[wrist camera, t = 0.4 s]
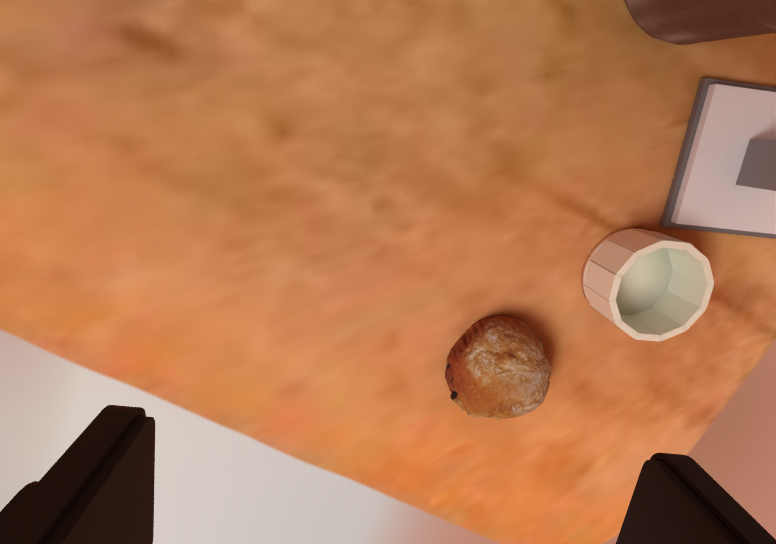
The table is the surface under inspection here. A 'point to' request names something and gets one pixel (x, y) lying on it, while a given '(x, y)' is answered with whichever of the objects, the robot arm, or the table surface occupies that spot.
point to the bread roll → (498, 369)
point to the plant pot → (703, 19)
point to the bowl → (647, 283)
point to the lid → (732, 163)
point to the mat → (686, 152)
